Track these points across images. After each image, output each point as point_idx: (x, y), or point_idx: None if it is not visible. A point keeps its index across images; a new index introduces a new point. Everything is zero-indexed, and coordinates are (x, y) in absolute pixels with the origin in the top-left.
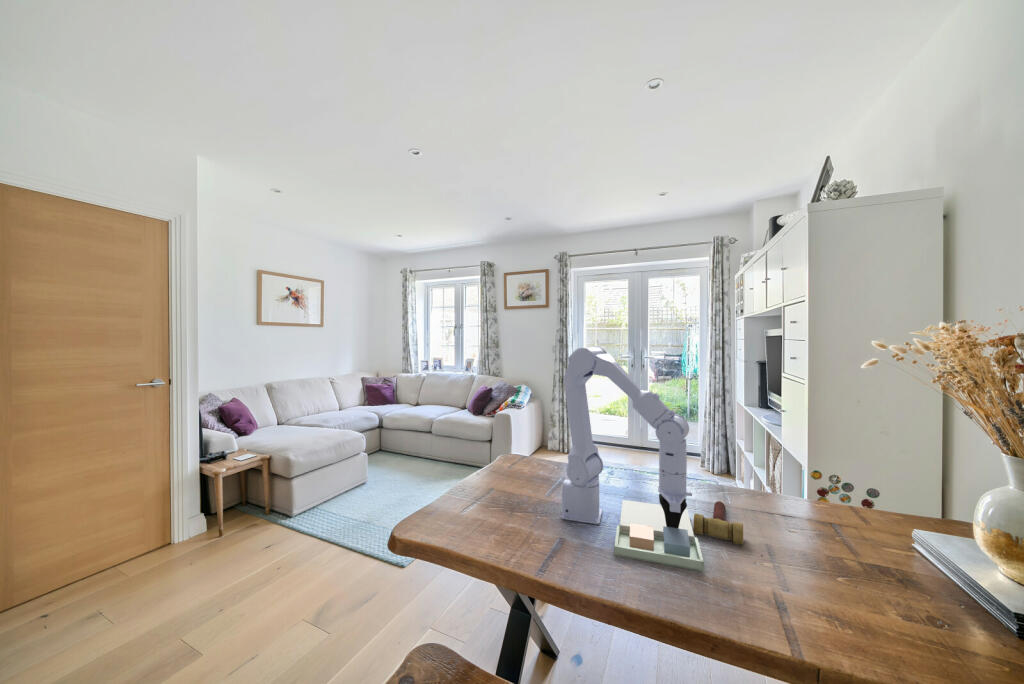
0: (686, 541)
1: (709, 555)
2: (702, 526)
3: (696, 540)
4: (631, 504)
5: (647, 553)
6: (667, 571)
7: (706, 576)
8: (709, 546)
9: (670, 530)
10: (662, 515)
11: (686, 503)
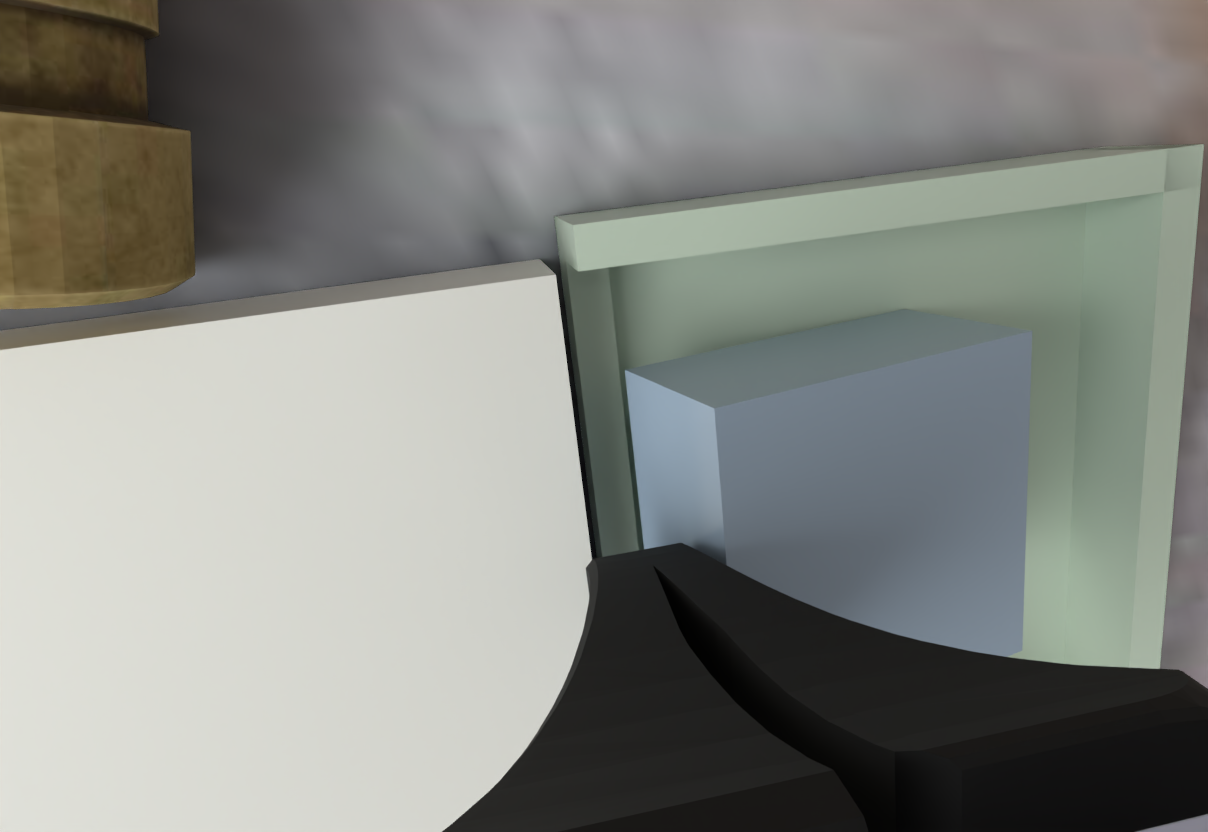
0: (951, 391)
1: (717, 55)
2: (151, 127)
3: (671, 237)
4: None
5: None
6: (1182, 505)
7: (1175, 120)
8: (461, 38)
9: None
10: (40, 796)
11: (1084, 736)
